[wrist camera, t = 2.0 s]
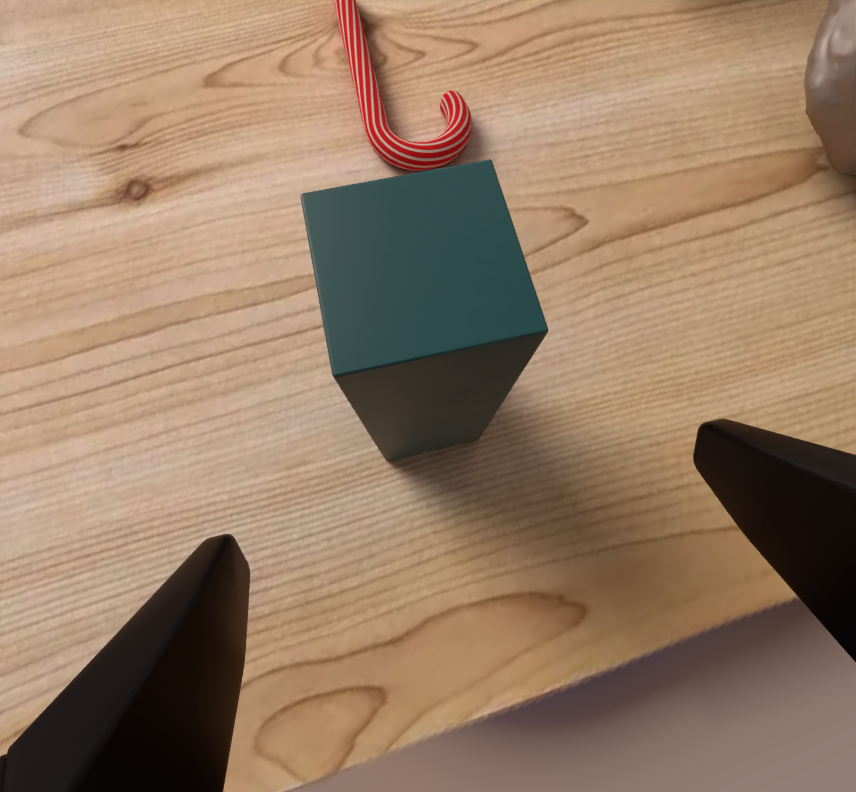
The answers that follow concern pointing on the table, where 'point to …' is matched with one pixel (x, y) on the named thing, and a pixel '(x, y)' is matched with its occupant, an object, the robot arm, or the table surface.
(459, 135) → the candy cane
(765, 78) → the table surface
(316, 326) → the table surface
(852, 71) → the heart
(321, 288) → the block
